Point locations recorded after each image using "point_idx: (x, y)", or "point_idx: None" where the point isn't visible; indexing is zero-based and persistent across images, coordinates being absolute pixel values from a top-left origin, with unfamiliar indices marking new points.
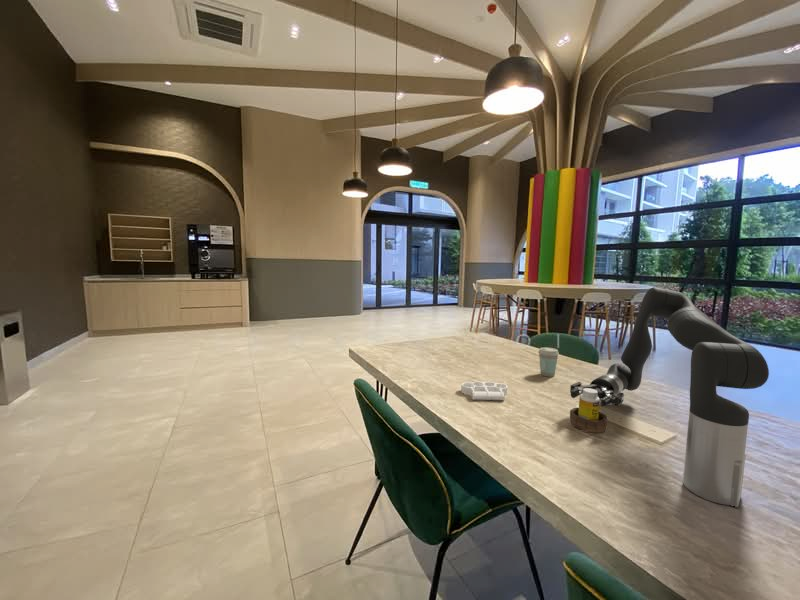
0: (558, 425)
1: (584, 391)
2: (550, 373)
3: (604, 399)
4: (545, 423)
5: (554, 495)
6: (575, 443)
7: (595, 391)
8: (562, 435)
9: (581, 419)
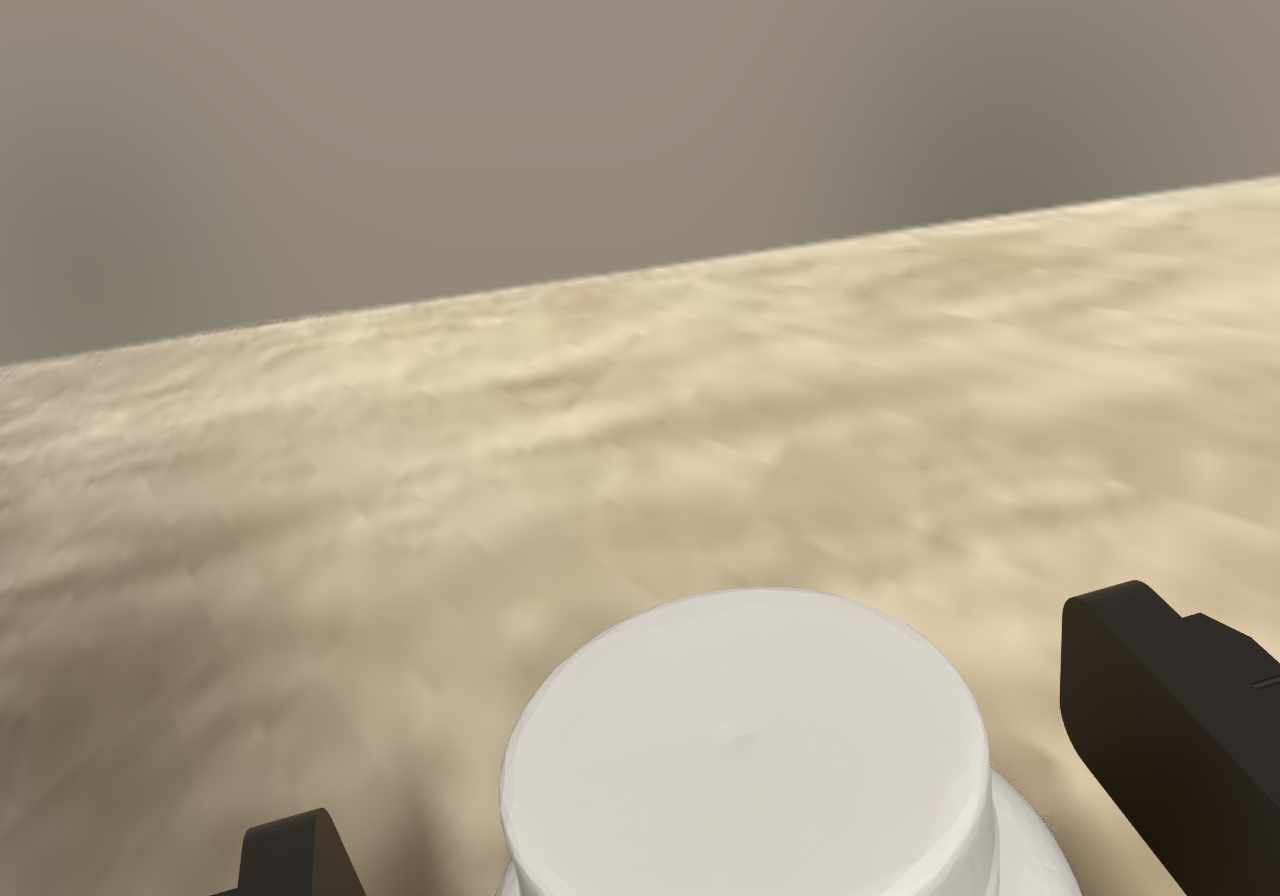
0: None
1: (788, 599)
2: None
3: (244, 868)
4: None
5: (311, 336)
6: (535, 686)
7: (574, 808)
8: None
9: None
